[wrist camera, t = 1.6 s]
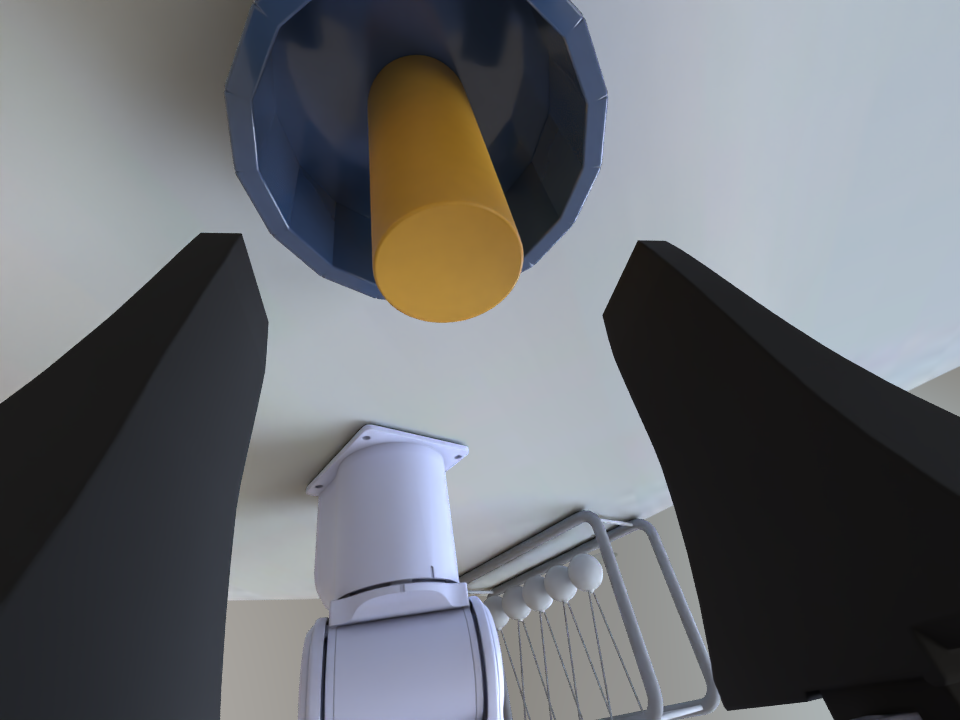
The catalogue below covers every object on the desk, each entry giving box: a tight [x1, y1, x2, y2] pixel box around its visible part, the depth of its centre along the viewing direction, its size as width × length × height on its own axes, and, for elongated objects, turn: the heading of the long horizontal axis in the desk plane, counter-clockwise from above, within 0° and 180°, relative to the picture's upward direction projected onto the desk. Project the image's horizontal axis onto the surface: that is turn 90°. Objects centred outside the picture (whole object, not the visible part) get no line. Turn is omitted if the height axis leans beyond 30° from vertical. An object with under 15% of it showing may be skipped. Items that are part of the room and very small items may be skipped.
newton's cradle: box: [459, 510, 720, 720], centre depth 51 cm, size 30×10×18 cm, turn 142°
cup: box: [224, 0, 608, 300], centre depth 12 cm, size 12×9×4 cm
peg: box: [368, 55, 524, 323], centre depth 11 cm, size 3×3×8 cm
